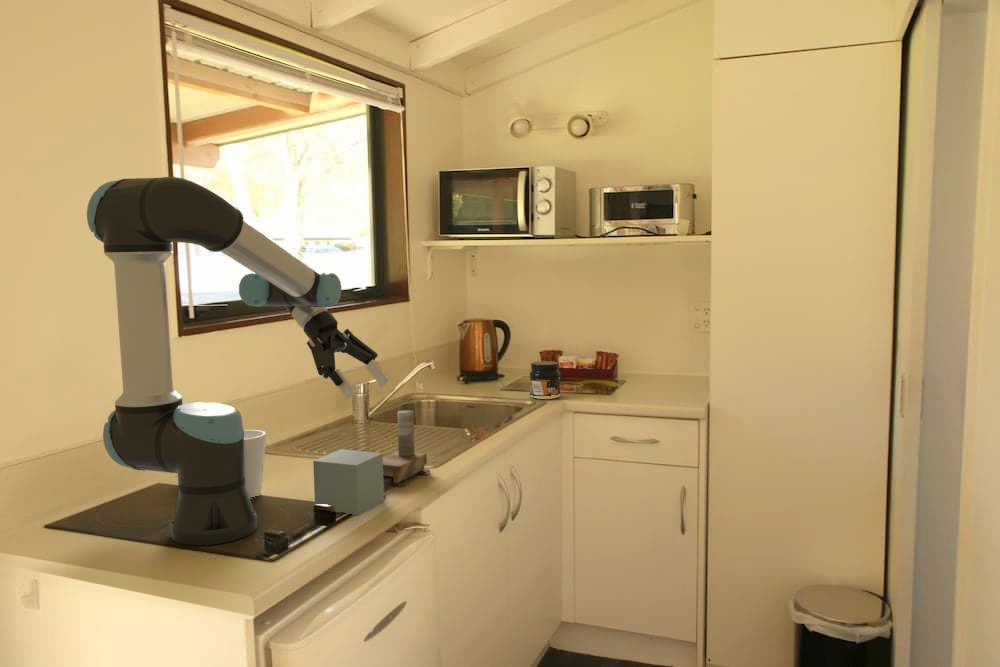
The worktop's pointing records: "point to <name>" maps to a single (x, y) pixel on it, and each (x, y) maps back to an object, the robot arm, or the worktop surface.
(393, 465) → the grey peg on base
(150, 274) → the robot arm
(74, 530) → the worktop surface
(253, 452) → the foam cup
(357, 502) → the grey box
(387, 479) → the rail
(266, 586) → the worktop surface
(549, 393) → the supplement container
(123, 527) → the worktop surface
